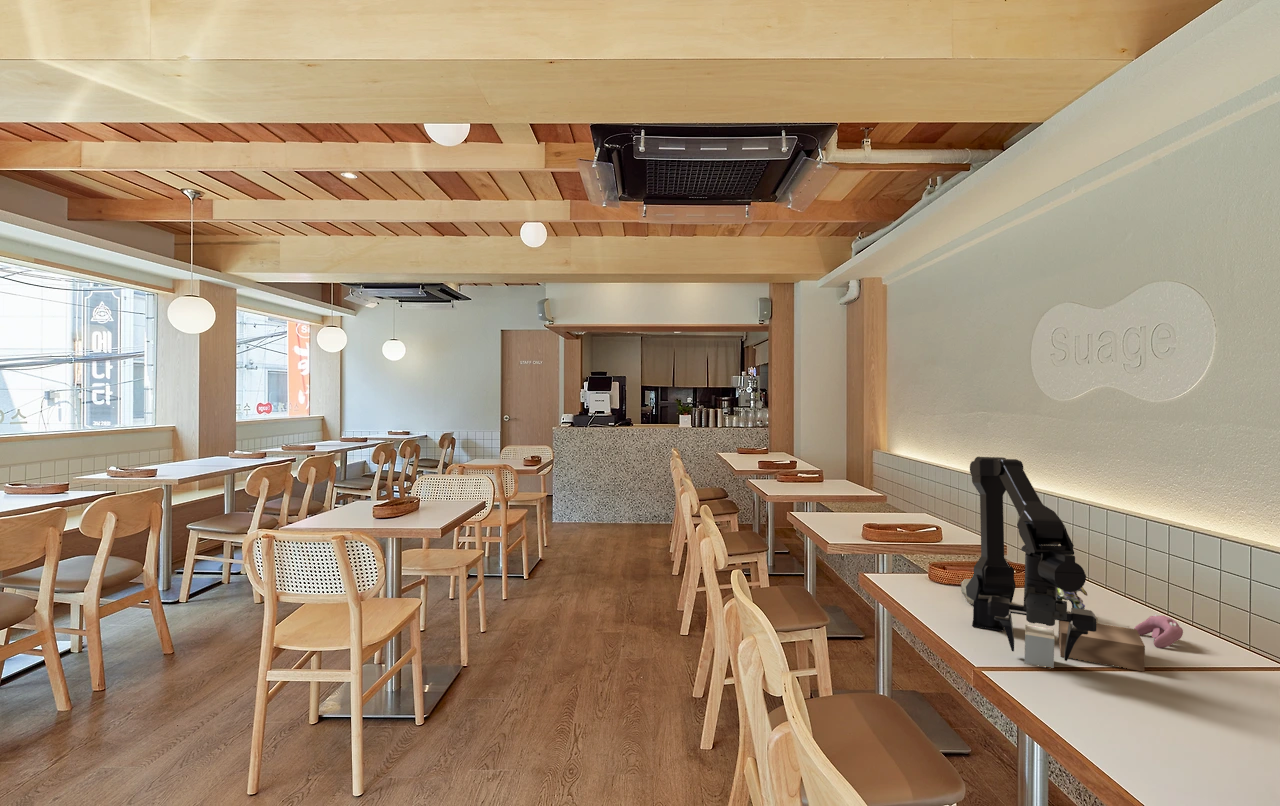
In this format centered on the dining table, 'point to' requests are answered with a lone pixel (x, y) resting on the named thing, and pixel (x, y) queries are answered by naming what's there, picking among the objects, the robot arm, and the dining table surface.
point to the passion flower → (1072, 597)
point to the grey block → (1039, 646)
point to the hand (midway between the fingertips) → (1038, 655)
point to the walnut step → (1106, 646)
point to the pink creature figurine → (1161, 630)
